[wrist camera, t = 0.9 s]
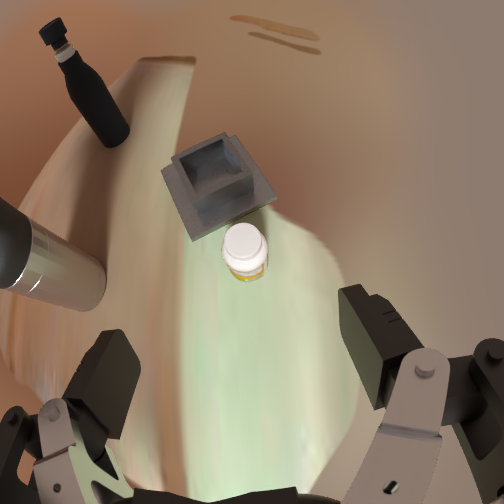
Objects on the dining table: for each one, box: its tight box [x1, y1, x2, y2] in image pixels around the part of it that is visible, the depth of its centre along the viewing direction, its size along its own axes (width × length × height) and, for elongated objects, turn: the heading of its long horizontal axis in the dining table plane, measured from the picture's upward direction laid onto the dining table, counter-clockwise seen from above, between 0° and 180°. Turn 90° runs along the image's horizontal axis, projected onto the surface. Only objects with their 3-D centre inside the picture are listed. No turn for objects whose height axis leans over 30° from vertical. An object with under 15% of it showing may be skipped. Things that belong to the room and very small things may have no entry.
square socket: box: [161, 132, 277, 242], centre depth 40 cm, size 14×14×6 cm
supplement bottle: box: [222, 223, 268, 282], centre depth 34 cm, size 5×5×10 cm
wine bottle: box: [39, 17, 130, 148], centre depth 34 cm, size 6×6×30 cm
